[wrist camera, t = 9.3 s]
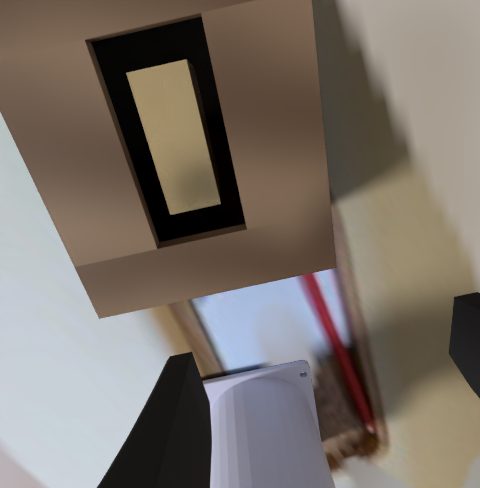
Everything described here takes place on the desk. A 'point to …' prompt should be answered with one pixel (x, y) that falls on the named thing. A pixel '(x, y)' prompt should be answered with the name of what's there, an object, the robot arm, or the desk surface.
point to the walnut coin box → (120, 164)
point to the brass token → (177, 134)
